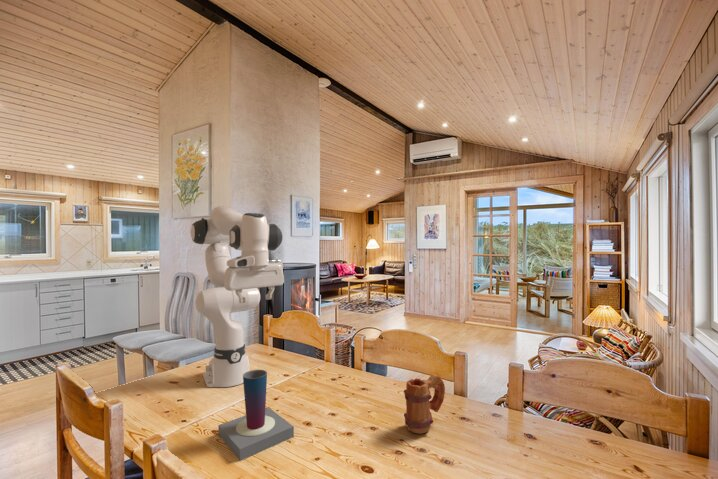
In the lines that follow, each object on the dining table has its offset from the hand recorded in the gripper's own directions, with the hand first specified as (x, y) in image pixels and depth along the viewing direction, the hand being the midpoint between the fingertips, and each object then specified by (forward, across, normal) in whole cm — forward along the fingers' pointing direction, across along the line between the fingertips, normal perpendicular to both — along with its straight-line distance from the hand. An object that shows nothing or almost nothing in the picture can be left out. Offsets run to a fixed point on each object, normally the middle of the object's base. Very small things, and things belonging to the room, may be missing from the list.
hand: (255, 301), depth 115 cm
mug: (+37, -33, +45) cm, 67 cm away
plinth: (+37, +7, +14) cm, 40 cm away
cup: (+34, +7, +14) cm, 37 cm away
